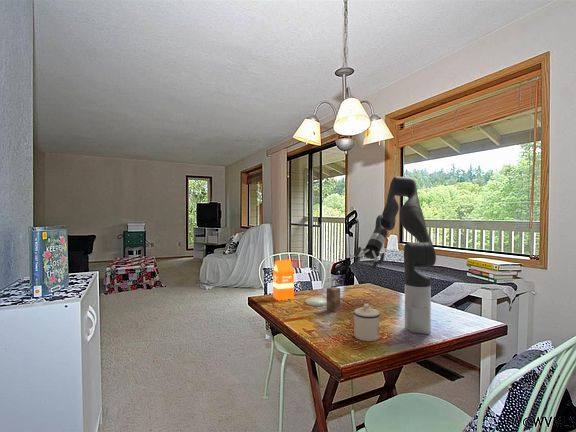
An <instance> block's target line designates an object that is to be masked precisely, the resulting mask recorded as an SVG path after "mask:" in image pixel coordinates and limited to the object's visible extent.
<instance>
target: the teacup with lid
mask: <svg viewBox="0 0 576 432" xmlns="http://www.w3.org/2000/svg"><path fill="white" fill-rule="evenodd" d="M380 316H381V314H380V311H378V310H377V309H375V308H372V307H371V306H370V304H368V303H364V304H363V306H361V307H358V308H355V309H354V311H353V317H354V320H353V321H354V322H353V323H354V326H353V327H354V328H353V329H354V331H353V332H354V333H353V334H354V335H353V336H354V337H355V338H356V339H357V340H359V341H364V342H375V341H377V340H379V338H380Z"/></svg>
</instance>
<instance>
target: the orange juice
mask: <svg viewBox="0 0 576 432" xmlns="http://www.w3.org/2000/svg"><path fill="white" fill-rule="evenodd" d="M294 272H295V271H294V268H293V263H292V260H291V259H281V260H280V259H279V260H275V261H274V265H273V269H272V294H273V295H272V298H273V299H275V300H276V301H277V300H278V301H277V302H282V301H289V300H288V299H291V300H295V299H294V298H295V297H294V295H295V292H294V291H295V290H294V289H295V279H294V278H295V276H294V275H295V273H294ZM281 300H282V301H281Z"/></svg>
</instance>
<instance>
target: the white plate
mask: <svg viewBox="0 0 576 432" xmlns="http://www.w3.org/2000/svg"><path fill="white" fill-rule="evenodd" d="M305 305H308V306H314V307H321V306H327V298H324V297H318V296H314V297H312V296H311V297H308V298H305Z"/></svg>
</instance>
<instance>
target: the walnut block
mask: <svg viewBox="0 0 576 432" xmlns="http://www.w3.org/2000/svg"><path fill="white" fill-rule="evenodd" d="M326 299H327V304H326V311H329V312H333V313H336V312H339V311H341V288H340V287H335V286H330V287H326Z"/></svg>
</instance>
